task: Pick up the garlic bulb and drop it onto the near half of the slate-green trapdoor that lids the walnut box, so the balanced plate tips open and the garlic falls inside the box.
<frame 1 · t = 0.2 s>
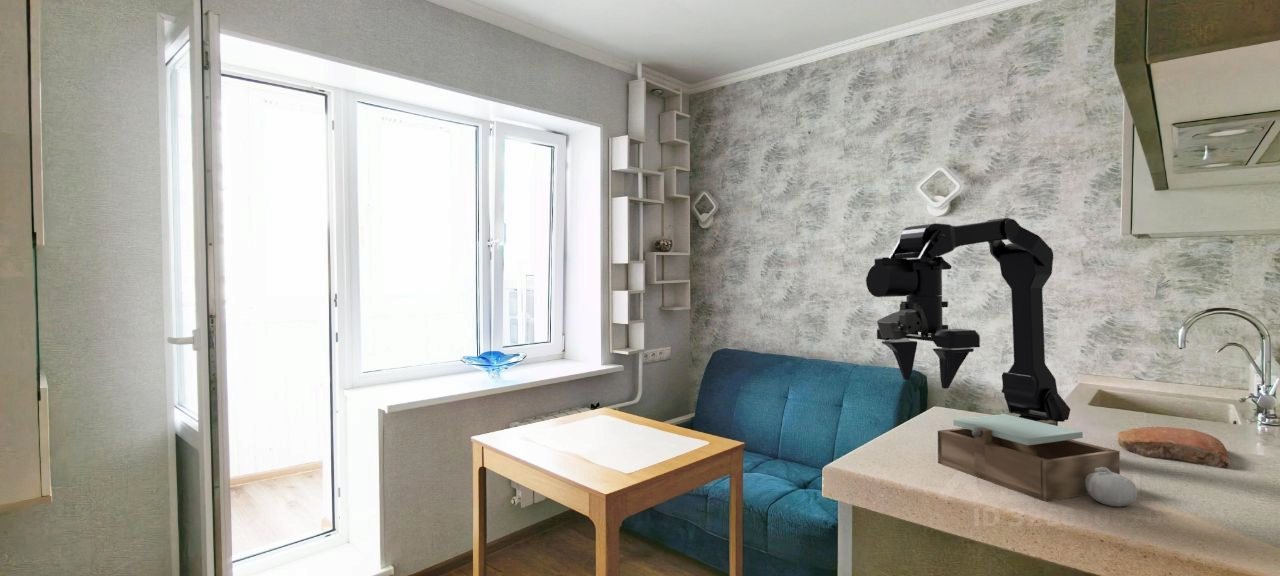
hand: (925, 384, 104), 14 cm above the table, fingers open, 9 cm apart
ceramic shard: (1168, 455, 111), on the table
garlic: (1110, 505, 86), on the table
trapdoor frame: (1015, 472, 100), on the table
trapdoor plate: (1014, 428, 100), point 8 cm above the table, hinge at 0.0°
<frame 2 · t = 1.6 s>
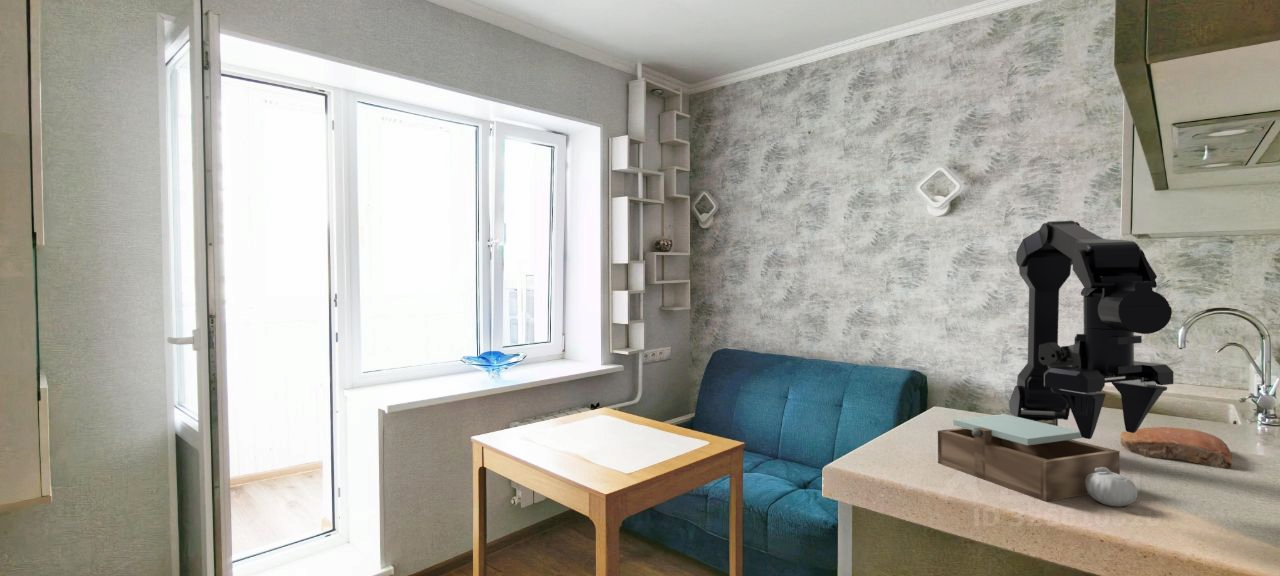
hand: (1108, 435, 86), 10 cm above the table, fingers open, 9 cm apart
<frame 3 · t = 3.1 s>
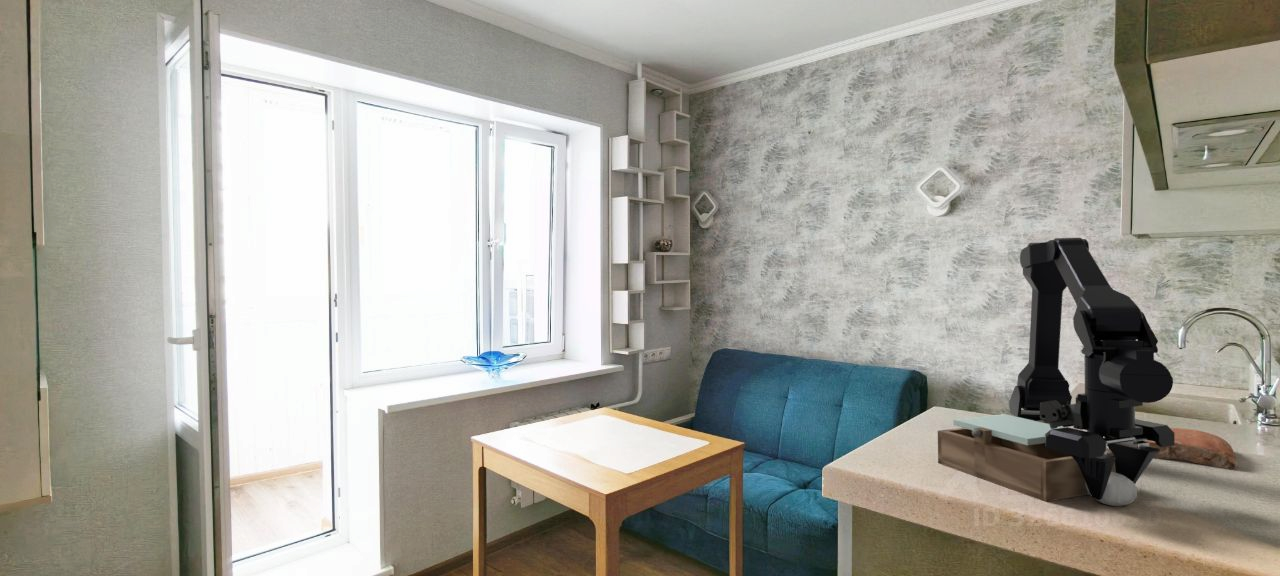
hand: (1110, 496, 86), 1 cm above the table, fingers closed on garlic, 5 cm apart
garlic: (1110, 504, 86), on the table, touching gripper
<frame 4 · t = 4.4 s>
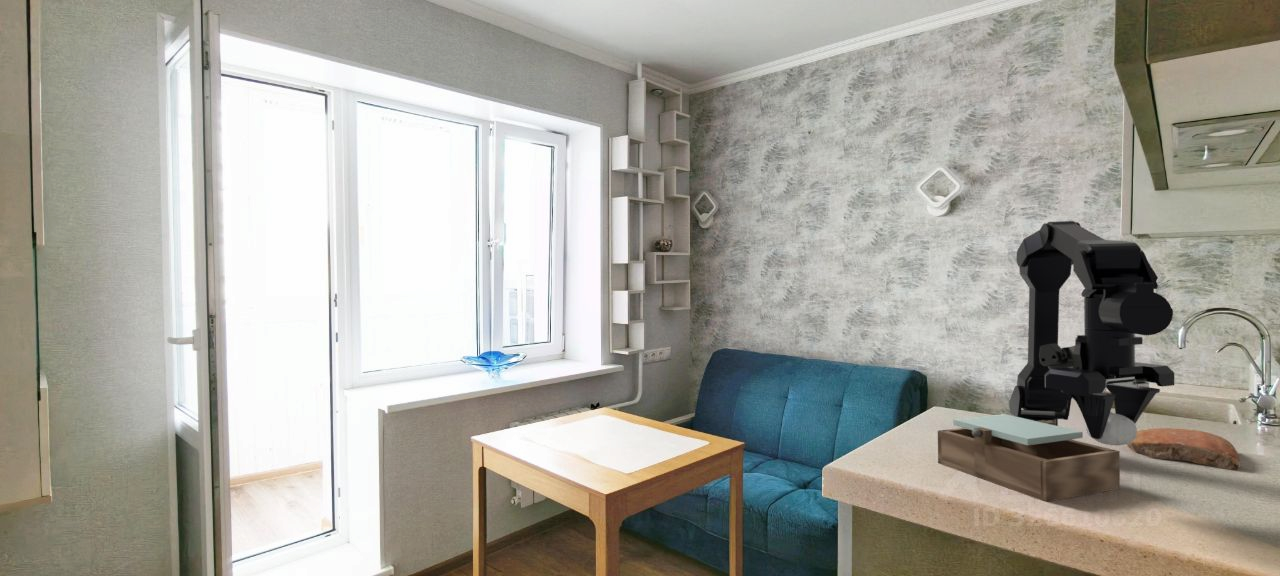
hand: (1109, 436, 86), 10 cm above the table, fingers closed on garlic, 5 cm apart
garlic: (1109, 445, 86), point 9 cm above the table, touching gripper
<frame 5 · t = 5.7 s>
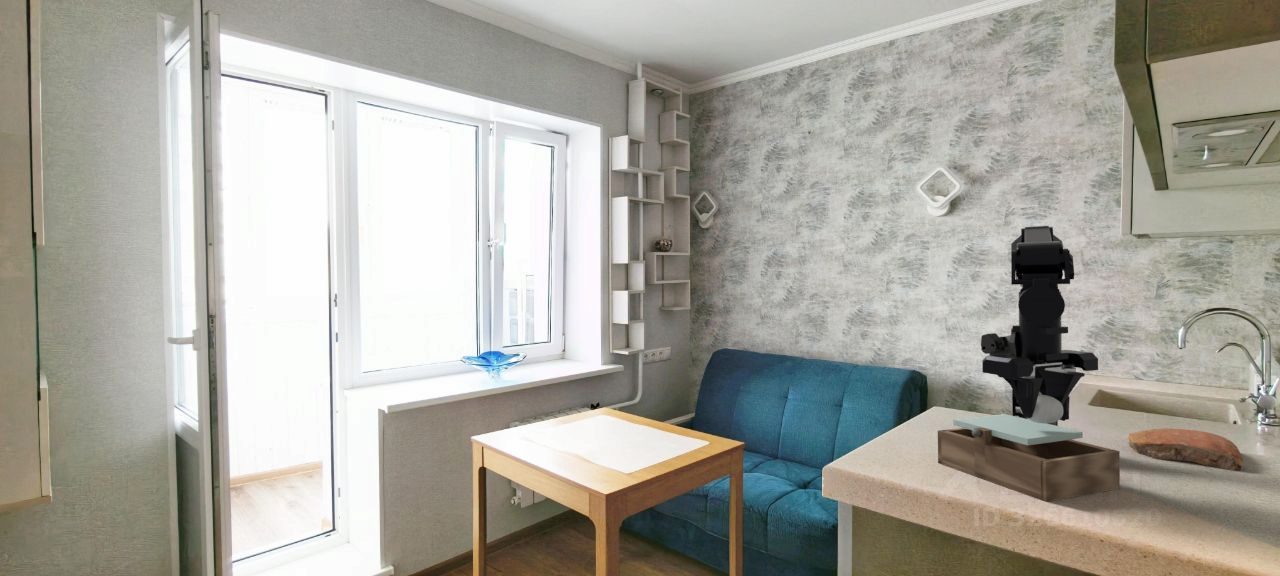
hand: (1040, 416, 96), 11 cm above the table, fingers closed on garlic, 5 cm apart
garlic: (1040, 423, 96), point 9 cm above the table, touching gripper
when the fingers open (10 cm above the table, at t = 6.2 s): garlic drops 5 cm, resting on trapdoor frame, trapdoor plate.
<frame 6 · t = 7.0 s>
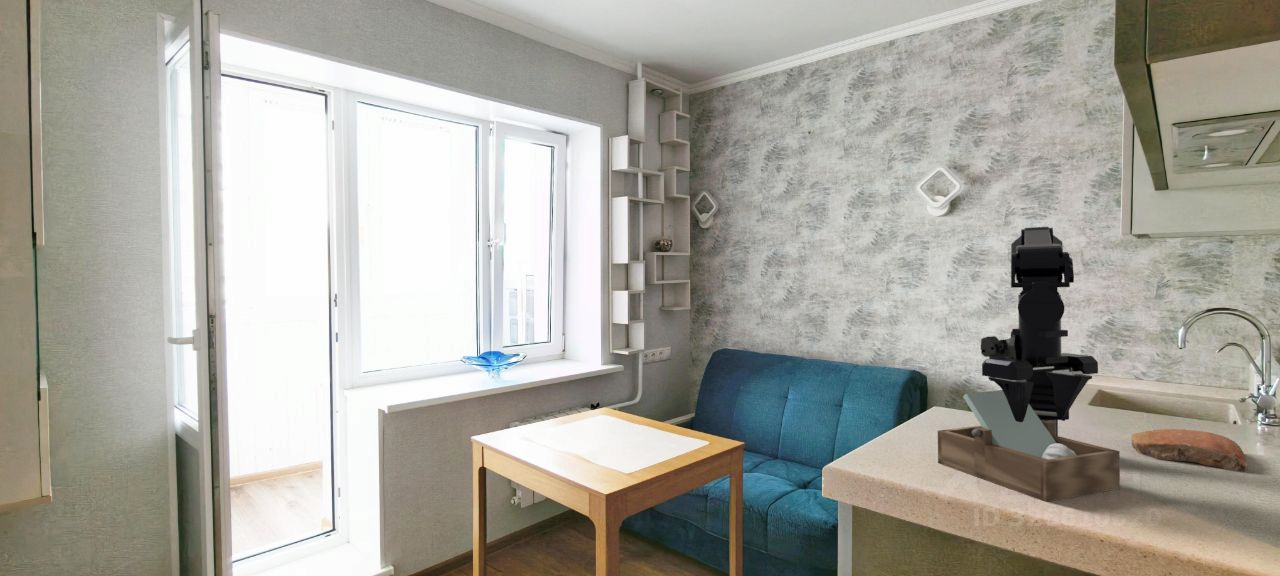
hand: (1040, 419, 96), 10 cm above the table, fingers open, 9 cm apart
garlic: (1044, 458, 96), point 4 cm above the table, touching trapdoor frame, trapdoor plate
trapdoor plate: (1014, 428, 100), point 7 cm above the table, hinge at -49.0°, touching garlic
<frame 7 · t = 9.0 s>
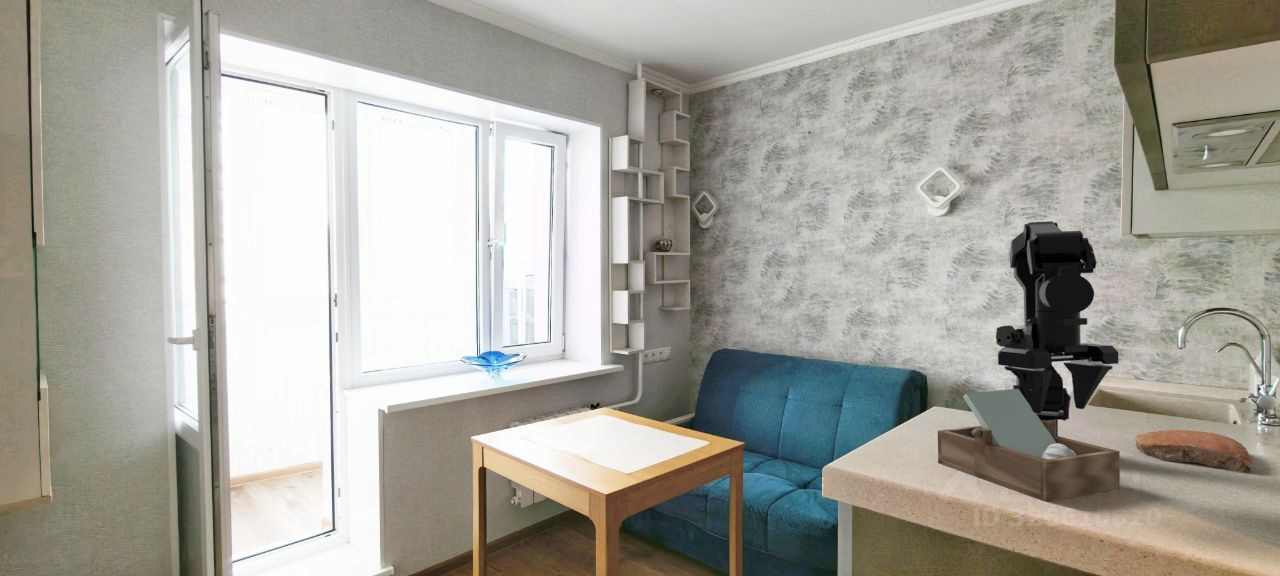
hand: (1058, 410, 93), 12 cm above the table, fingers open, 9 cm apart
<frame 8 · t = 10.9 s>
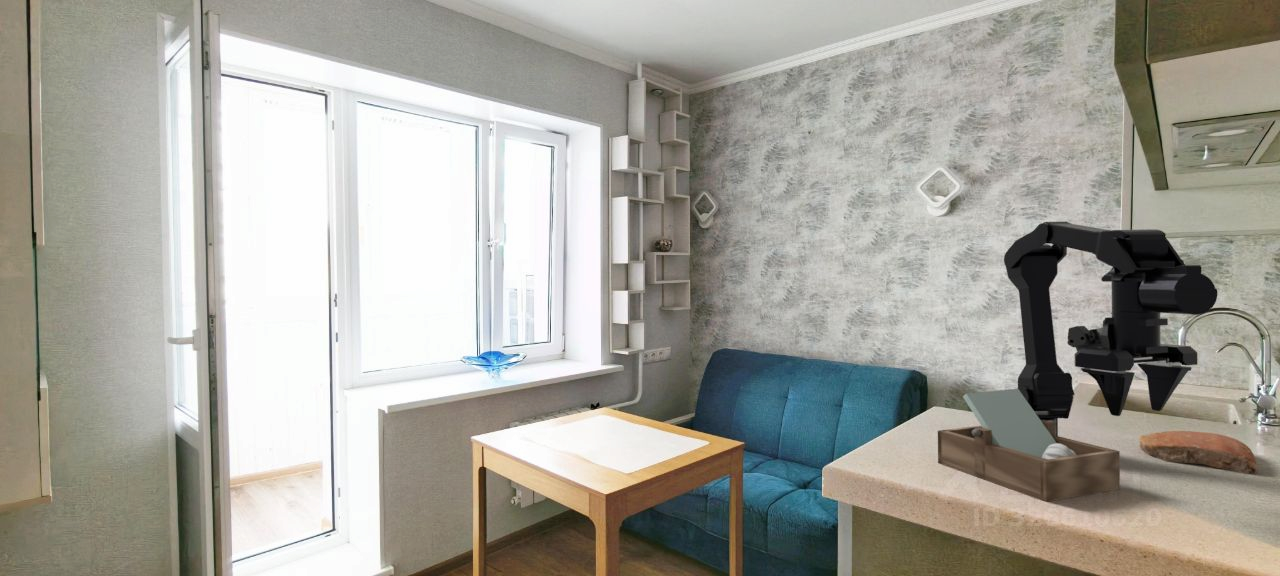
hand: (1136, 413, 91), 12 cm above the table, fingers open, 9 cm apart
at the end: garlic inside the target area on the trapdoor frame (3.6 cm from its centre), point 3.6 cm above the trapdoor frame's base; the gripper is holding nothing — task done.
